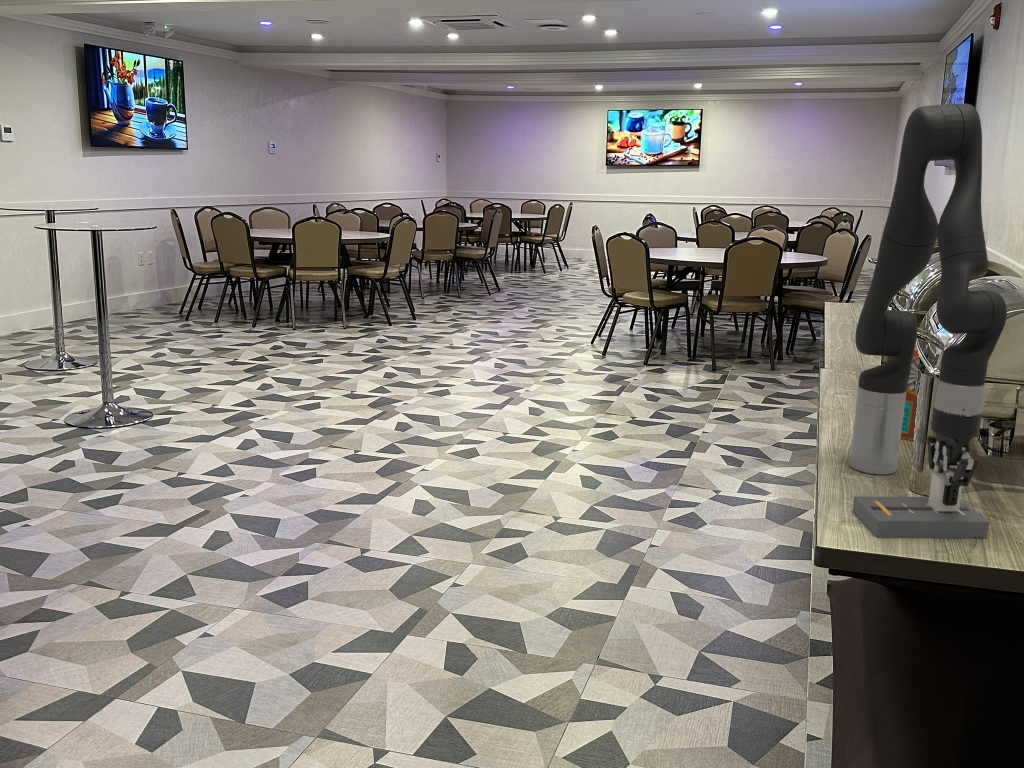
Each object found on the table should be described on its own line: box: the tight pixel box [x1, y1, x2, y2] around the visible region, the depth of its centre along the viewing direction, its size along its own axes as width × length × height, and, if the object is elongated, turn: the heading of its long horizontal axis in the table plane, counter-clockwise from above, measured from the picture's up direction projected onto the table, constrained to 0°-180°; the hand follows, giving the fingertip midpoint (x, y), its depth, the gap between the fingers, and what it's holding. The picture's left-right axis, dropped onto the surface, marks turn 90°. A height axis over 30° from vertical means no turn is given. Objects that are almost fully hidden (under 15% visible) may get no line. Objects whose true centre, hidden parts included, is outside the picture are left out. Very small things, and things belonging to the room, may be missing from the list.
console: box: [852, 496, 991, 539], centre depth 156 cm, size 11×19×3 cm, turn 90°
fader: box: [928, 471, 964, 511], centre depth 155 cm, size 3×4×6 cm
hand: (944, 500), depth 156 cm, fingers closed on fader, 3 cm apart
